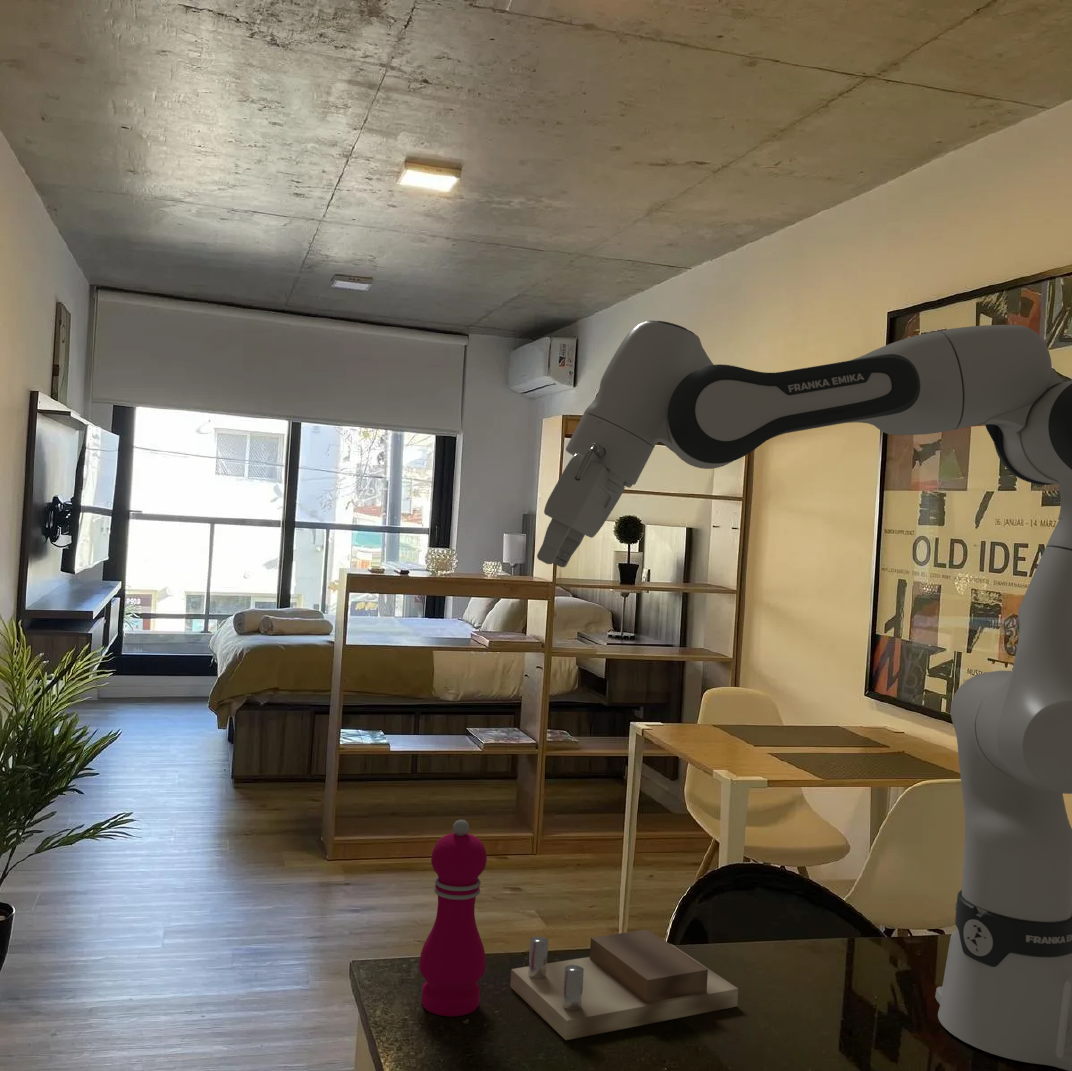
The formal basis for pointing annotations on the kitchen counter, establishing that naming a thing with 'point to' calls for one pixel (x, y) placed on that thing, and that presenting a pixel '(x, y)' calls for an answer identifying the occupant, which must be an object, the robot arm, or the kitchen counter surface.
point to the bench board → (602, 996)
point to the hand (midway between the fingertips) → (550, 563)
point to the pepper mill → (454, 927)
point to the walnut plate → (648, 965)
